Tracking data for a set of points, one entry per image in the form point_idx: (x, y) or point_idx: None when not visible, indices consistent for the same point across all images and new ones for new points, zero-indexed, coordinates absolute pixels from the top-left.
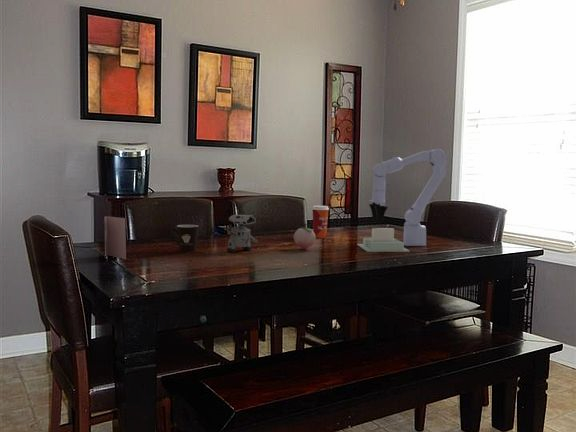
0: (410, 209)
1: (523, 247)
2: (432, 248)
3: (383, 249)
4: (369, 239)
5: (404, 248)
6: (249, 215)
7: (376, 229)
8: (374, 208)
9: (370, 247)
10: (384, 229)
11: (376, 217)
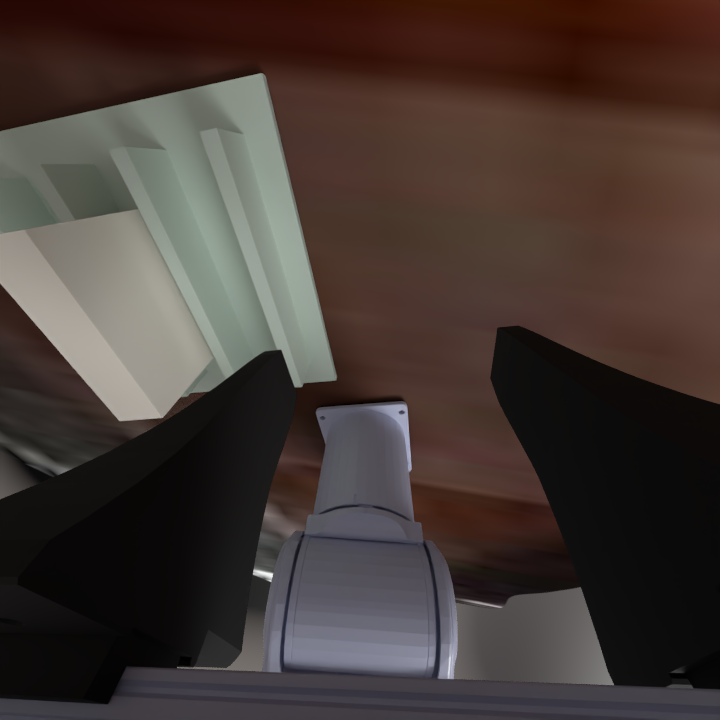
0: (445, 676)
1: None
2: (284, 475)
3: None
4: (132, 190)
5: (197, 387)
6: None
7: (1, 274)
8: (615, 487)
9: (8, 178)
10: (64, 350)
11: (503, 382)
